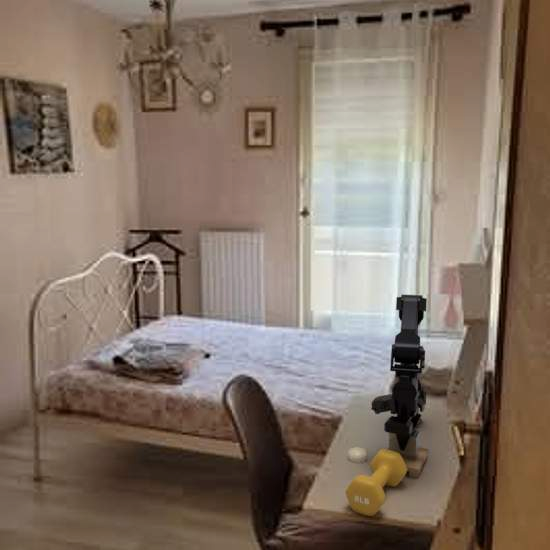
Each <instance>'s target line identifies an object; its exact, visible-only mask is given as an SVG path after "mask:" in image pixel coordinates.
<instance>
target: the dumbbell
mask: <svg viewBox="0 0 550 550" xmlns="http://www.w3.org/2000/svg"><path fill="white" fill-rule="evenodd" d="M369 465H370V466H369V467H370V470H371V473H372V474H371V475H370V476H368V475H366V474H365V475H364V474H358V475H357V476H355V477H354V478H353V479H352V480H351V482H350V484H348V486H347V487H346V488H345V489H346V490H345V496H346V499H347V501H348V504H349V505H350V508H351V509H352V510H353V512H355V513H358V514H361V515H365V516H367V517H374V516H375V515H376V514H377V513H378V512H379V510H380V509H381V508H382V507H383V505H384V504H385V502H386V499H387V496H386V493H385V491H384V487H385V486H388V487H393V488H394V487H397V486H398V485H399V484H400V483H401V481H403V478H404V477H406V475H407V473H408V471H407V467H406V464H405V462H404V460H403V458H402V457H401V455H400V454H399V453H398V452H395V451H391V450H387V448H383V449H382V448H381V449H380V450H379V451H378V452H377V453H376V455H374V457H373V458H372V460H371V461H370V463H369Z"/></svg>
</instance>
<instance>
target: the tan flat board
mask: <svg viewBox="0 0 550 550" xmlns="http://www.w3.org/2000/svg"><path fill="white" fill-rule="evenodd" d="M386 450H389V446H388V447H387V448H386ZM429 452H430V451H429V448H425V447H420V449H419V451H418V453H417V455H416V456H412V455H407V454H401V453H399V454H400V455H401V457H402V458H403V460H404V462H405V464H406V467H407V472H408V478H412V479H418V477H419V475H420V473H421V471H422V469H423V467H424V465H425V463H424V462H426V461H425V460H427V459H426V458H428V455H429Z"/></svg>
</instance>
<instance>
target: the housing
mask: <svg viewBox="0 0 550 550" xmlns="http://www.w3.org/2000/svg"><path fill="white" fill-rule="evenodd" d="M388 447H389V450H391V451H395V452H398V453H401V454H407V455H412V456H416V455H417V453H418V451H419V449H420V448H421V430H420V429H415V430H413V432H412V434H411V437H410V439H409V441H408V444H407V446H406V448H405V450H404V451H402V450H400V448H399V444H398V440H397V437H396V434H394V433H388Z"/></svg>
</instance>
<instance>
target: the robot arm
mask: <svg viewBox="0 0 550 550" xmlns="http://www.w3.org/2000/svg"><path fill="white" fill-rule="evenodd" d="M423 296H424V295H421V294H401V296H397V297H396V302H395V303H396V304H395V310H396V311H398V319H399V320H400V322H401V325H400V332H398V333H397V334H396V335H395V337H394V343H391V353H390V369H389V371H390V372H394V381H393V386H392V391H391V393H389V394H384V395H380V396H376V397H375V398H374V399H372V401H371V410H372V411H373V412H374V414H375V415H379V414H381V413H382V414H383V413H386V412H390V414H391V416H390V417H388V418H387V419H386V421H385V422H384V424H383V425H384V427H383V429H384V430H383V431H384V432H385V433H388V434H389V433H394V434H396V437H397V440H398V444H399V448H400V450H402V451H404V450H405V448H406V446H407V444H408V441H409V439H410V437H411V434H412V432H413V430H416V429H417V428H419V426H420V424H421V422H422V420H423V419H422V414H421V413H423V412H425V409H426V406H427V391H426V390H425V387H424V386H422V383H423V380H422V378H421V376H420V375H419V374H422V373H423V372H422V371H423V369H425V363H426V350H425V349H424V345H421V336H420V335H419V325H420V324H421V323H422V321H423V320H424V317H425V316H424V315H425V312H426V313H427V305H428V303H427V298H426V297H423ZM394 415H395V416H394Z"/></svg>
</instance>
